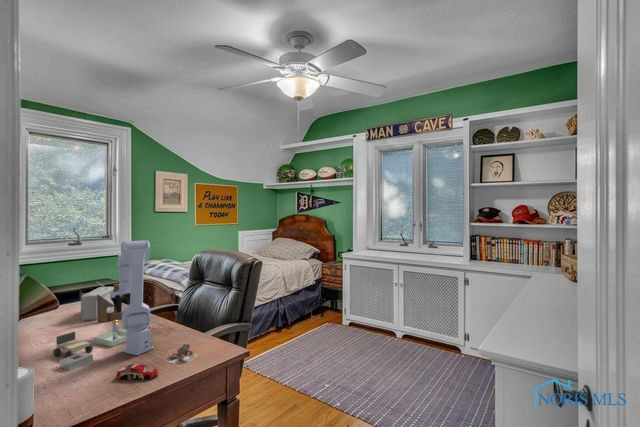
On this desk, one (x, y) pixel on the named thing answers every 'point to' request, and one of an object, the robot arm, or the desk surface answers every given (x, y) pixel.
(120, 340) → the tray
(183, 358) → the frog figurine
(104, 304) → the wooden block
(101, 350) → the desk surface
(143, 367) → the race car
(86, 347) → the ramp trolley
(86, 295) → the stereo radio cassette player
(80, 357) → the plate
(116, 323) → the pin
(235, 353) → the desk surface
